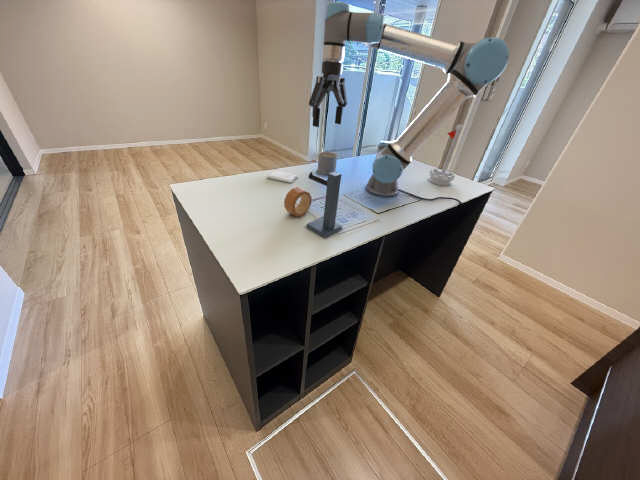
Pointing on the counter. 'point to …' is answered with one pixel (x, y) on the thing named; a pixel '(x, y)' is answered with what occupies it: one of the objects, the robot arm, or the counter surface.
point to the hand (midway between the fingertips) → (327, 125)
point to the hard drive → (282, 176)
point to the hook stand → (327, 206)
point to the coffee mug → (327, 163)
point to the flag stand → (443, 176)
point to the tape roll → (292, 199)
